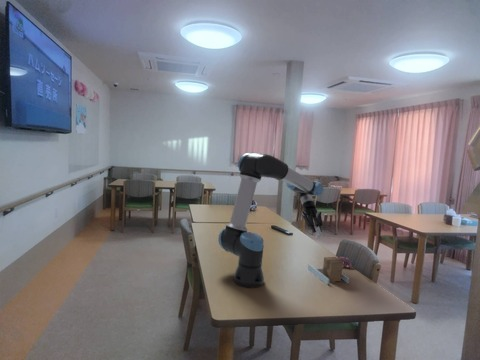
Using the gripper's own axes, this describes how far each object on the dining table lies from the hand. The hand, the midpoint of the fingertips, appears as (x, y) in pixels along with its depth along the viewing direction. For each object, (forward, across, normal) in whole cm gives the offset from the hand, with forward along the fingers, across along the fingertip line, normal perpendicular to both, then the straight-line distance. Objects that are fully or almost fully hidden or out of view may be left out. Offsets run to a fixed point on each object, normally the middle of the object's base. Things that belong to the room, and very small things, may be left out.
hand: (319, 237), depth 177 cm
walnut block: (+24, 0, -2) cm, 24 cm away
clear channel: (+21, 0, -4) cm, 22 cm away
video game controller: (+14, -17, -12) cm, 25 cm away
